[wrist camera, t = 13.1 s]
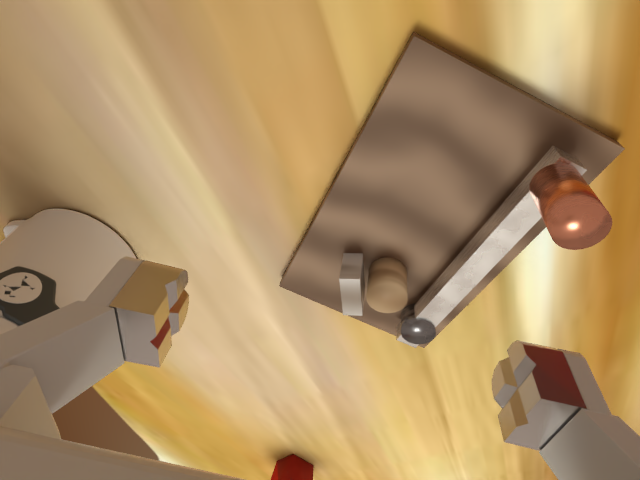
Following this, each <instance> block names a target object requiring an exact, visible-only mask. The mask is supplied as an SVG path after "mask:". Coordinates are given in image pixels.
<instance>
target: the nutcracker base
mask: <svg viewBox="0 0 640 480" xmlns="http://www.w3.org/2000/svg"><path fill="white" fill-rule="evenodd" d="M552 146H555V147H557V148H559V149H561V150H563V151H565V152H567V153H569V154H571V155H573V156H575V157H576V158H578V159H579V160H580V161H581V163H582V164H583V165H584V167H585V168H586V169H587V171H586V172H585V173H584V174H583V175H582V177H583V178H584V180H585V181H586V182H587V184H588V185H589V184H590V183H591V182H592V181H593V180H594V179H595V178H596V177H597V176H598V175H599V174H600V173H601V172H602V171H603V170H604V169H605V168H606V167H607V166H608V165H609V164H610V163H611V162H612V161H613V160H614V159H615V158H616V157H617V156H618V155H619V154H620V153H621V152H622V151H623V150H624V148H623V147H622V146H621V145H620V144H619V143H618V142H617V141H616V140H614V139H612V138H610V137H608V136H607V135H605V134H603V133H601V132H599V131H597V130H595V129H593V128H592V127H590V126H588V125H586V124H584V123H582V122H580V121H579V120H577V119H575V118H573V117H571V116H569V115H567V114H566V113H564V112H562V111H560V110H558V109H556V108H554V107H553V106H551V105H549V104H547V103H545V102H543V101H541V100H540V99H538V98H536V97H534V96H532V95H530V94H528V93H526V92H525V91H523V90H521V89H519V88H517V87H515V86H513V85H512V84H510V83H508V82H506V81H504V80H502V79H500V78H499V77H497V76H495V75H493V74H491V73H489V72H487V71H486V70H484V69H482V68H480V67H478V66H476V65H474V64H472V63H471V62H469V61H467V60H465V59H463V58H461V57H459V56H458V55H456V54H454V53H452V52H450V51H448V50H446V49H445V48H443V47H441V46H439V45H437V44H435V43H433V42H432V41H430V40H428V39H426V38H424V37H422V36H420V35H419V34H417V33H415V32H413V34H412V36H411V38H410V39H409V41H408V43H407V45H406V47H405V49H404V51H403V53H402V54H401V56H400V58H399V60H398V62H397V64H396V66H395V67H394V69H393V71H392V73H391V75H390V77H389V79H388V81H387V82H386V84H385V86H384V88H383V90H382V92H381V94H380V95H379V97H378V99H377V101H376V103H375V105H374V107H373V109H372V110H371V112H370V114H369V116H368V118H367V120H366V122H365V124H364V125H363V127H362V129H361V131H360V133H359V135H358V137H357V138H356V140H355V142H354V144H353V146H352V148H351V150H350V152H349V153H348V155H347V157H346V159H345V161H344V163H343V165H342V167H341V168H340V170H339V172H338V174H337V176H336V178H335V180H334V181H333V183H332V185H331V187H330V189H329V191H328V193H327V195H326V196H325V198H324V200H323V202H322V204H321V206H320V208H319V210H318V211H317V213H316V215H315V217H314V219H313V221H312V223H311V224H310V226H309V228H308V230H307V232H306V234H305V236H304V238H303V239H302V241H301V243H300V245H299V247H298V249H297V251H296V252H295V254H294V256H293V258H292V260H291V262H290V264H289V266H288V267H287V269H286V271H285V273H284V275H283V277H282V279H281V282H280V285H279V286H280V287H283V288H285V289H287V290H290V291H292V292H294V293H297V294H299V295H301V296H304V297H306V298H308V299H311V300H313V301H315V302H318V303H320V304H322V305H325V306H327V307H329V308H332V309H334V310H336V311H339V312H341V313H343V315H348V316H350V317H353V318H355V319H357V320H360V321H362V322H364V323H367V324H369V325H371V326H374V327H376V328H379V329H381V330H383V331H386V332H388V333H390V334H393V335H395V336H396V333H397V325H398V324H399V323H400V321H401V311H402V310H403V309H401V310H400V311H397V312H394V313H382V312H378V311H376V310H374V309H373V308H371V307H370V306H369V304H368V303H367V300H366V294H367V284H368V273H369V267H370V265H371V264H372V263H373V262H374V261H376V260H377V259H380V258H386V257H388V258H394V259H397V260H399V261H401V262H402V263H403V264H404V265H405V267H406V269H407V299H408V300H407V304H406V305H405V307H406V306H407V305H410V304H415V303H417V302H418V301H419V300H420V298H421V297H422V296H423V295H424V294H425V293H426V291H427V290H428V289H429V288H430V287H431V286H432V284H433V283H434V282H435V281H436V280H437V279H438V278H439V276H440V275H441V274H442V273H443V272H444V271H445V269H446V268H447V267H448V266H449V265H450V264H451V263H452V261H453V260H454V259H455V258H456V257H457V256H458V254H459V253H460V252H461V251H462V250H463V249H464V247H465V246H466V245H467V244H468V243H469V242H470V241H471V239H472V238H473V237H474V236H475V235H476V234H477V232H478V231H479V230H480V229H481V228H482V227H483V226H484V224H485V223H486V222H487V221H488V220H489V219H490V217H491V216H492V215H493V214H494V213H495V212H496V210H497V209H498V208H499V207H500V206H501V205H502V204H503V202H504V201H505V200H506V199H507V198H508V197H509V195H510V194H511V193H512V192H513V191H514V190H515V189H516V187H517V186H518V185H519V184H520V183H521V182H522V180H523V179H524V178H525V177H526V176H527V175H528V173H529V172H530V171H531V170H532V169H533V168H534V167H535V165H536V164H537V163H538V162H539V161H540V160H541V158H542V157H543V156H544V155H545V154H546V153H547V151H548V150H549V149H550V148H551V147H552ZM545 227H546V225H545V223H544V221H543V219H542V217H541V218H540V220H539V221H538V222H537V223H536V224H535V225H534V226H533V227H532V228H531V229H530V230H529V231H528V232H527V233H526V234H525V235H524V236H523V237H522V238H521V239H520V240H519V241H518V242H517V243H516V244H515V245H514V246H513V248H512V249H511V250H510V251H509V252H508V253H507V254H506V255H505V256H504V257H503V258H502V259H501V260H500V261H499V262H498V263H497V264H496V265H495V266H494V267H493V268H492V269H491V270H490V271H489V272H488V273H487V274H486V276H485V277H484V278H483V279H482V280H481V281H480V282H479V283H478V284H477V285H476V286H475V287H474V288H473V289H472V290H471V291H470V292H469V293H468V294H467V295H466V296H465V297H464V298H463V299H462V300H461V301H460V302H459V304H458V305H457V306H456V307H455V308H454V309H453V310H452V311H451V312H450V313H449V314H448V315H447V316H446V317H445V318H444V319H443V320H442V321H441V322H440V323H439V324H438V325H437V326H436V327H435V329H436V336H437V335H438V334H439V333H440V332H441V331H442V330H443V329H444V328H445V327H446V326H447V325H448V324H449V323H450V322H451V321H452V320H453V319H454V318H455V317H456V316H457V315H458V314H459V313H460V312H461V311H462V310H463V309H464V308H465V307H466V306H467V305H468V304H469V303H470V302H471V301H472V300H473V299H474V298H475V297H476V296H477V295H478V294H479V293H480V292H481V291H482V290H483V289H484V288H485V287H486V286H487V285H488V284H489V283H490V282H491V281H492V280H493V279H494V278H495V277H496V276H497V275H498V274H499V273H500V272H501V271H502V270H503V269H504V268H505V267H506V266H507V265H508V264H509V263H510V262H511V261H512V260H513V259H514V258H515V257H516V256H517V255H518V254H519V253H520V252H521V251H522V250H523V249H524V248H525V247H526V246H527V245H528V244H529V243H530V242H531V241H532V240H533V239H534V238H535V237H536V236H537V235H538V234H539V233H540V232H541V231H542V230H543V229H544V228H545ZM436 336H435V337H436ZM430 342H431V341H430ZM430 342H428V343H425V344H419V345H418V346H421V347H423V348H424V347H426V346H427V345H428V344H429V343H430Z"/></svg>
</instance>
